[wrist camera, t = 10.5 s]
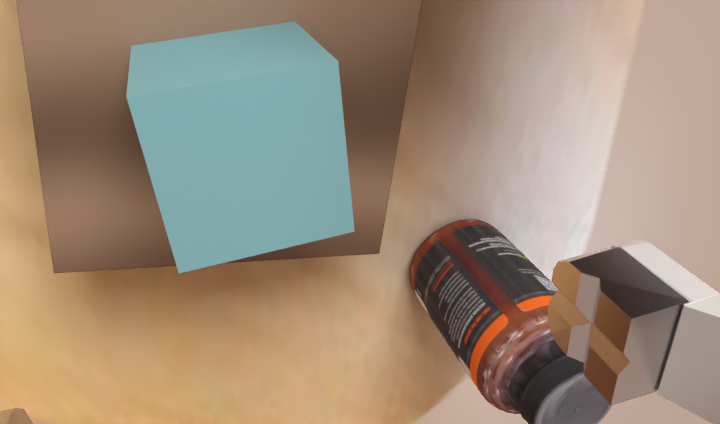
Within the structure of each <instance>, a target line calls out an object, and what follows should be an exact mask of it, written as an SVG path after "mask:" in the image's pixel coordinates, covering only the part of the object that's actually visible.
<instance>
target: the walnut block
mask: <svg viewBox="0 0 720 424" xmlns="http://www.w3.org/2000/svg"><path fill="white" fill-rule="evenodd" d="M16 1H17V8H18V16H19V23H20V30H21V37H22V45H23V52H24V59H25V66H26V74H27V81H28V88H29V96H30V103H31V110H32V117H33V125H34V132H35V139H36V147H37V154H38V161H39V168H40V176H41V183H42V190H43V198H44V205H45V212H46V219H47V227H48V234H49V241H50V249H51V256H52V263H53V270H54V273H65V272H81V271H98V270H114V269H131V268H148V267H164V266H176V262H175V259H174V256H173V252H172V249H171V246H170V242H169V239H168V235H167V232H166V229H165V225H164V222H163V219H162V215H161V212H160V209H159V205H158V202H157V198H156V195H155V192H154V188H153V185H152V182H151V178H150V175H149V171H148V168H147V165H146V161H145V158H144V155H143V151H142V148H141V145H140V141H139V138H138V134H137V131H136V128H135V124H134V121H133V118H132V114H131V111H130V108H129V104H128V101H127V97H126V94H127V84H128V74H129V64H130V54H131V46H133V45H140V44H146V43H153V42H160V41H166V40H173V39H180V38H187V37H193V36H200V35H207V34H214V33H220V32H227V31H234V30H240V29H247V28H254V27H261V26H267V25H274V24H281V23H287V22H294V21H295V22H296V23H297V24H298V25H299V26H300V27H301V28H303V29H304V30H305V31H306V32H307V33H308V34H309V35H310V36H311V37H312V38H314V39H315V40H316V41H317V42H318V43H319V44H320V45H321V46H322V47H323V48H324V49H326V50H327V51H328V52H329V53H330V54H331V55H332V56H333V57H334V58H335V59H336V60H338V65H339V75H340V85H341V96H342V106H343V116H344V127H345V137H346V148H347V158H348V168H349V179H350V189H351V199H352V210H353V220H354V230H355V232H351V233H346V234H342V235H338V236H334V237H330V238H326V239H321V240H317V241H313V242H309V243H305V244H301V245H296V246H292V247H288V248H284V249H280V250H276V251H271V252H267V253H263V254H259V255H255V256H251V257H246V258H242V259H238V260H234V261H230V262H247V261H264V260H280V259H297V258H313V257H330V256H346V255H363V254H379V251H380V245H381V239H382V234H383V228H384V222H385V216H386V210H387V204H388V198H389V192H390V186H391V180H392V174H393V168H394V162H395V156H396V150H397V144H398V138H399V132H400V127H401V121H402V115H403V109H404V103H405V97H406V91H407V85H408V79H409V73H410V67H411V61H412V55H413V49H414V43H415V37H416V31H417V25H418V20H419V14H420V8H421V2H422V0H16ZM230 262H226V263H230Z"/></svg>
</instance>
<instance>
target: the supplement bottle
mask: <svg viewBox="0 0 720 424" xmlns="http://www.w3.org/2000/svg"><path fill="white" fill-rule="evenodd" d="M410 280H411V284H412V288H413V290H414V293H415V294H416V296H417V298H418V300H419V301H420V303H421V304H422V306H423V307H424V309H425V310H426V312H427V313H428V315H429V316H430V318H431V319H432V321H433V322H434V324H435V325H436V327H437V328H438V330H439V331H440V333H441V334H442V336H443V337H444V339H445V340H446V342H447V343H448V345H449V346H450V348H451V349H452V351H453V352H454V354H455V355H456V357H457V358H458V360H459V361H460V363H461V364H462V366H463V367H464V369H465V370H466V372H467V373H468V375H469V376H470V378H471V379H472V380H473V382H474V384H475V385H476V386H477V388H478V390H479V391H480V392H481V394H482V395H483V396H484V398H485V399H486V400H487V401H488V402H489V403H490V404H492V405H493V406H494V407H496V408H498V409H500V410H503V411H505V412H508V413H514V414H521V415H522V417H523V418H524V419H525V420H526V421H527V422H528V424H598V423H599V422H600V421H601V420H602V419H603V418H604V417H605V415H606V414H607V413H608V412H609V410H610V409H611V407H612V405H610V404H609V403H608V402H607V401H606V399H605V398H604V397H603V396H602V395H601V394H600V393H599V392H598V390H597V389H596V388H595V387H594V386H593V385H592V384H591V383H590V381H589V380H588V379H587V378H586V377H585V376H584V363H583V362H581V361H578V360H576V359H574V358H571V357H569V356H567V355H566V354H565V353H564V352H563V350H562V349H561V348H560V347H559V346H558V344H557V343H556V341H555V339H554V337H553V335H552V333H551V330H550V326H549V322H548V318H547V316H548V305H549V301H550V300H551V299H552V297H553V296H554V294H555V293H556V292H557V290H558V289H557V287H556V286H555V285H554V284H553V283H552V282H551V281H550V280H549V279H548V278H547V277H546V276H545V275H544V274H543V273H542V272H541V271H540V270H538V268H536V266H535V265H534V264H532V263H531V262H530V261H529V260H528V259H527V258H526V257H525V256H524V255H523V254H522V253H521V252H520V251H519V250H518V249H517V248H516V247H515V246H514V245H513V244H512V243H511V242H510V241H509V240H508V239H507V238H506V237H505V236H504V235H503V234H502V233H500V232H499V231H498V230H497V229H495V228H494V227H493V226H491V225H490V224H488V223H486V222H483V221H480V220H460V221H456V222H453V223H450V224H448V225H446V226H444V227H442V228H440V229H439V230H437V231H436V232H434V233H433V234H432V235H431V236H429V237H428V238H427V240H425V242H424V243H423V244H422V245H421V247H420V248H419V250H418V251H417V253H416V255H415V257H414V260H413V262H412V266H411V271H410Z"/></svg>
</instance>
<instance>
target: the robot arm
mask: <svg viewBox="0 0 720 424" xmlns="http://www.w3.org/2000/svg"><path fill="white" fill-rule="evenodd" d="M552 282H553V284H554V285H555V286H556V287H557V289H558V290H557V292H556V293H555V294H554V296H553V297H552V299H551V300H550V301H549V305H548V316H547V318H548V322H549V326H550V330H551V333H552V335H553V337H554V339H555V341H556V343H557V344H558V346H559V347H560V348H561V349H562V350H563V352H564V353H565V354H566V355H567V356H569V357H571V358H574V359H576V360H578V361H581V362H583V363H584V376H585V377H586V378H587V379H588V380H589V381H590V383H591V384H592V385H593V386H594V387H595V388H596V389H597V390H598V392H599V393H600V394H601V395H602V396H603V397H604V398H605V399H606V401H607V402H608V403H609V404H610V405H614V404H617V403H621V402H624V401H627V400H630V399H634V398H637V397H640V396H643V395H647V394H650V393H653V392H656V391H658V392H657V394H658V395H660V396H662V397H664V398H666V399H668V400H669V401H671V402H673V403H675V404H677V405H679V406H681V407H683V408H684V409H686V410H688V411H690V412H692V413H694V414H696V415H698V416H700V417H701V418H703V419H705V420H707V421H709V422H711V423H713V424H720V294H719V293H718V292H716V291H715V290H714V289H712V288H711V287H710V286H708V285H707V284H705V283H704V282H703V281H701V280H699V279H698V278H697V277H696V276H694V275H693V274H691V273H690V272H689V271H687V270H686V269H684V268H683V267H682V266H680V265H679V264H678V263H676V262H675V261H674V260H672V259H671V258H669V257H668V256H667V255H665V254H664V253H663V252H661V251H660V250H658V249H657V248H656V247H654V246H653V245H651V244H650V243H649V242H647V241H644V240H640V239H635V240H632V241H628V242H625V243H621V244H618V245H614V246H612V247H610V248H605V249H601V250H598V251H594V252H591V253H587V254H583V255H580V256H576V257H573V258H569V259H565V260H562V261H558V263H557V265H556V266H555V268H554V270H553V276H552ZM0 424H33V423H32V421H31V420H30V418H29V416H28V415H27V413H26V412H25V410H24V409H20V408H13V409H9V410H5V411H1V412H0Z"/></svg>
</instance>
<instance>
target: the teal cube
mask: <svg viewBox="0 0 720 424" xmlns="http://www.w3.org/2000/svg"><path fill="white" fill-rule="evenodd" d="M126 97H127V101H128V104H129V108H130V111H131V114H132V118H133V121H134V124H135V128H136V131H137V134H138V138H139V141H140V145H141V148H142V151H143V155H144V158H145V161H146V165H147V168H148V171H149V175H150V178H151V182H152V185H153V188H154V192H155V195H156V198H157V202H158V205H159V209H160V212H161V215H162V219H163V222H164V225H165V229H166V232H167V235H168V239H169V242H170V246H171V249H172V252H173V256H174V259H175V262H176V266H177V269H178V272H179V274H180V273H184V272H188V271H192V270H196V269H201V268H205V267H209V266H213V265H217V264H221V263H226V262H230V261H234V260H238V259H242V258H246V257H251V256H255V255H259V254H263V253H267V252H271V251H276V250H280V249H284V248H288V247H292V246H296V245H301V244H305V243H309V242H313V241H317V240H321V239H326V238H330V237H334V236H338V235H342V234H346V233H351V232H355V230H354V220H353V210H352V199H351V189H350V179H349V168H348V158H347V148H346V137H345V127H344V116H343V106H342V96H341V85H340V75H339V65H338V60H336V59H335V58H334V57H333V56H332V55H331V54H330V53H329V52H328V51H327V50H326V49H324V48H323V47H322V46H321V45H320V44H319V43H318V42H317V41H316V40H315V39H314V38H312V37H311V36H310V35H309V34H308V33H307V32H306V31H305V30H304V29H303V28H301V27H300V26H299V25H298V24H297V23H296V22H295V21H294V22H287V23H281V24H274V25H267V26H261V27H254V28H247V29H240V30H234V31H227V32H220V33H214V34H207V35H200V36H193V37H187V38H180V39H173V40H166V41H160V42H153V43H146V44H140V45H133V46H131V54H130V64H129V74H128V84H127V94H126Z"/></svg>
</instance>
